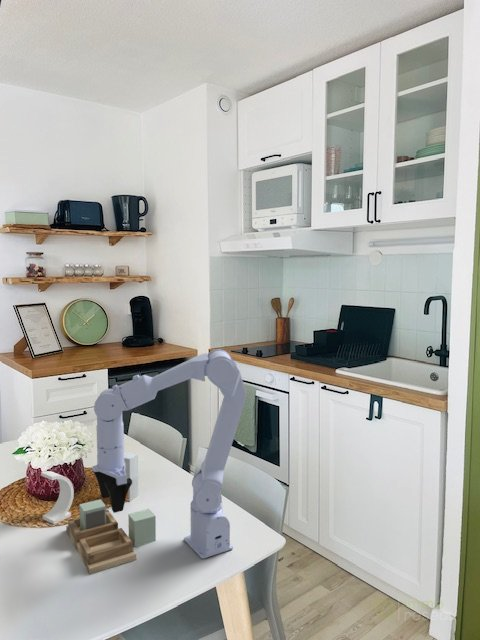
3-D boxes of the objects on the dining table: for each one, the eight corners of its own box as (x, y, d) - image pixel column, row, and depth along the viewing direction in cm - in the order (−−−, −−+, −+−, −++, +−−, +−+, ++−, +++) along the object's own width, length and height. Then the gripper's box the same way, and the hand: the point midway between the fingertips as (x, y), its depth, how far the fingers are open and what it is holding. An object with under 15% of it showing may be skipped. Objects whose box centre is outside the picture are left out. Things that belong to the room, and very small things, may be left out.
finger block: (155, 540, 117) (155, 515, 117) (134, 546, 115) (134, 521, 114) (148, 532, 121) (148, 508, 120) (128, 538, 119) (127, 513, 118)
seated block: (106, 531, 119) (106, 506, 118) (85, 537, 116) (84, 512, 116) (101, 523, 123) (100, 499, 122) (80, 528, 120) (79, 504, 119)
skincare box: (111, 498, 138) (110, 455, 137) (120, 491, 142) (119, 450, 141) (130, 502, 136) (129, 458, 135) (139, 495, 140) (138, 453, 139)
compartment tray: (136, 559, 110) (136, 545, 109) (89, 574, 105) (89, 559, 104) (107, 519, 127) (107, 507, 126) (66, 530, 121) (65, 517, 121)
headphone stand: (42, 518, 127) (40, 472, 126) (63, 509, 132) (62, 464, 131) (53, 524, 124) (52, 477, 123) (74, 514, 129) (73, 469, 128)
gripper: (83, 438, 116) (85, 495, 117) (102, 459, 103) (104, 522, 105) (113, 432, 119) (115, 488, 121) (135, 452, 107) (137, 514, 109)
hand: (112, 504), depth 113 cm, fingers open, 7 cm apart
